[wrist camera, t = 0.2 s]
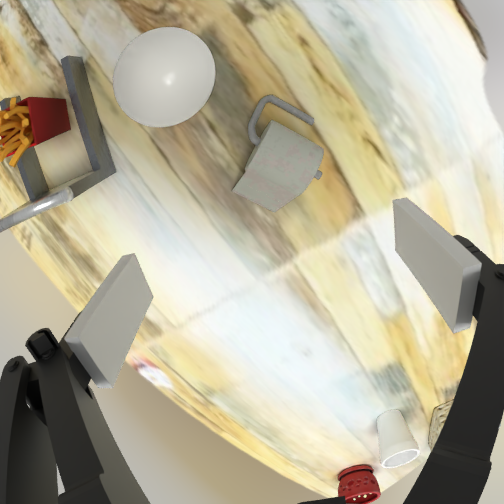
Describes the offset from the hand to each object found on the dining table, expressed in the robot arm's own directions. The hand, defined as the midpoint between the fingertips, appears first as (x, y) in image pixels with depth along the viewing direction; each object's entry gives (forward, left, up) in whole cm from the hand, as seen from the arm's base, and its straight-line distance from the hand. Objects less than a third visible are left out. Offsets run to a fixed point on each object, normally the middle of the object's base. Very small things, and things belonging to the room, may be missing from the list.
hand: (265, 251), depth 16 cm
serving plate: (-14, -10, -29) cm, 33 cm away
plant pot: (+97, +7, -29) cm, 102 cm away
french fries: (-14, -29, -29) cm, 43 cm away
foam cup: (+66, +16, -29) cm, 74 cm away
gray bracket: (-15, -28, -29) cm, 43 cm away
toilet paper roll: (+3, -1, -32) cm, 32 cm away
